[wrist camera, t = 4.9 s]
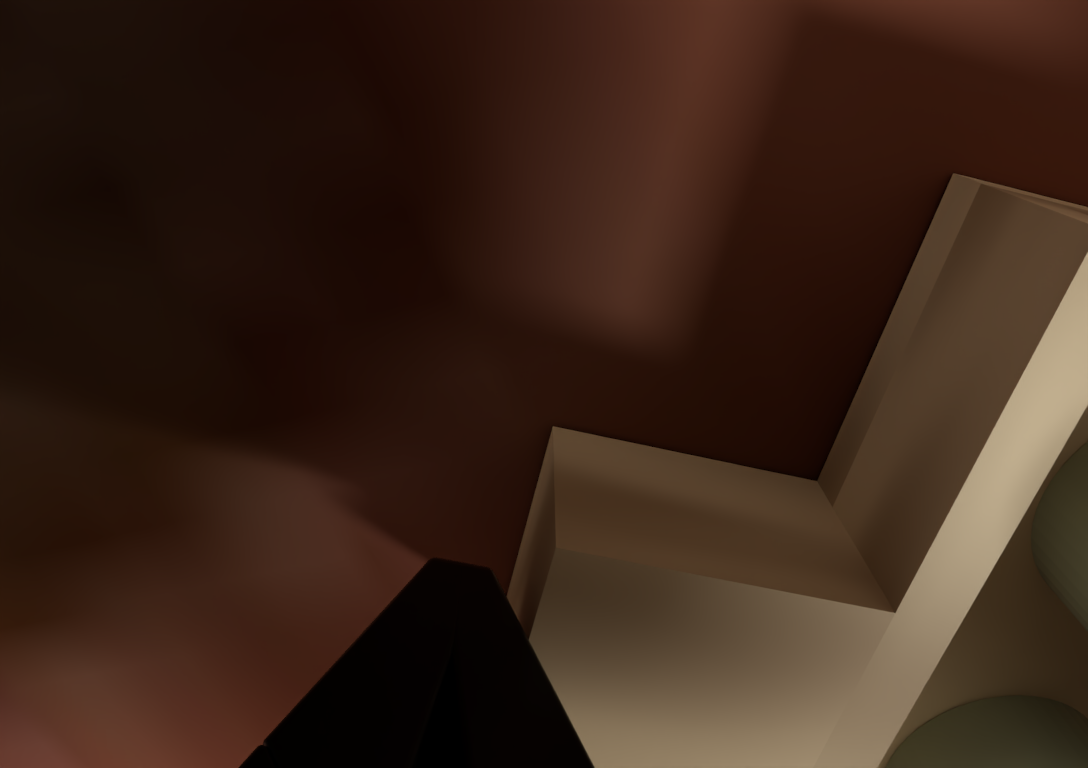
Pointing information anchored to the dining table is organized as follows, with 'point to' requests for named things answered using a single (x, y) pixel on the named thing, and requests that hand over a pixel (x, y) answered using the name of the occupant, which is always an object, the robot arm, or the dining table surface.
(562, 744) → the robot arm
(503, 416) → the dining table surface
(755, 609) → the beige flat piece
